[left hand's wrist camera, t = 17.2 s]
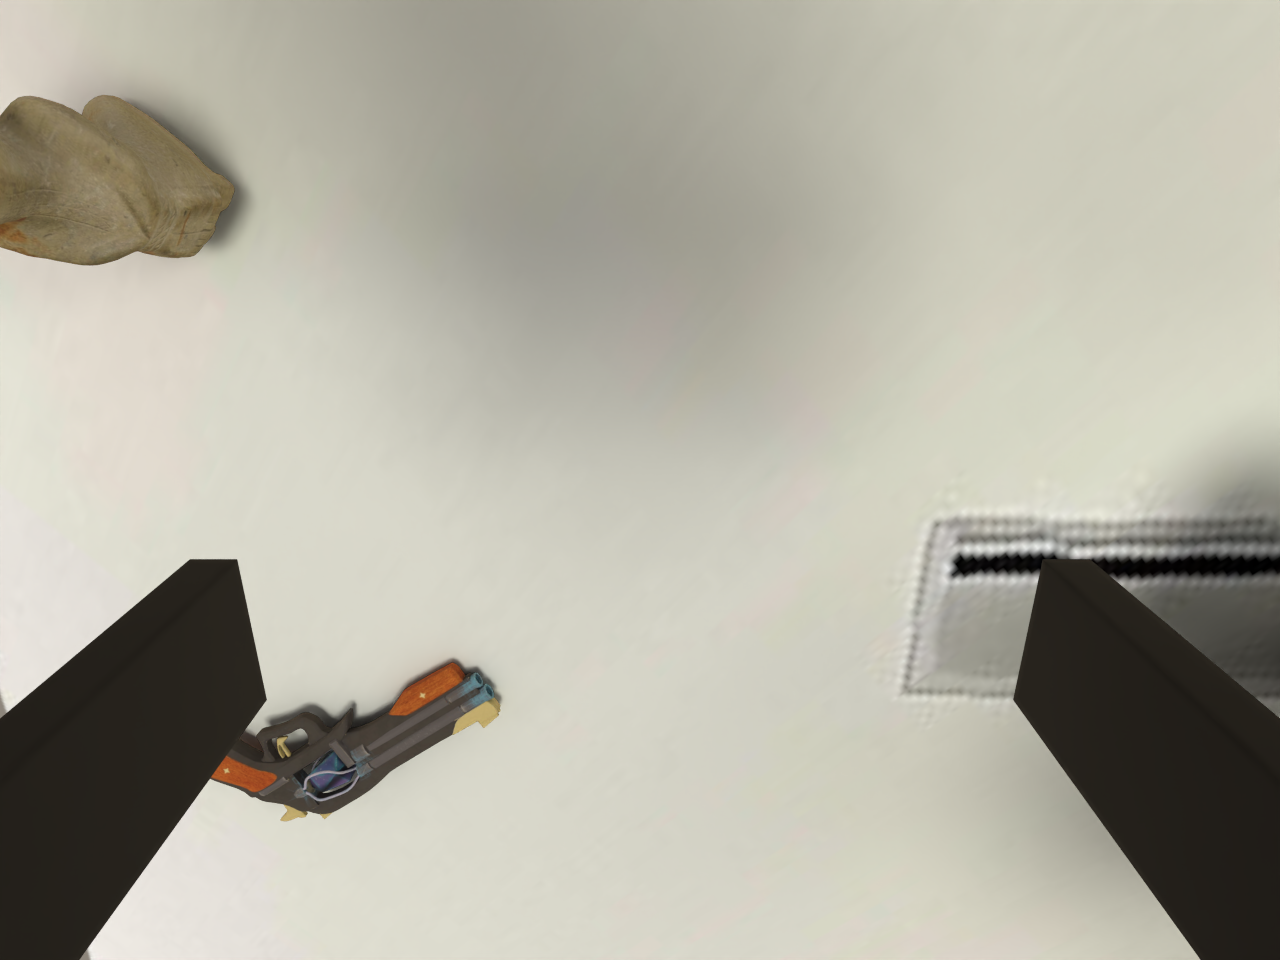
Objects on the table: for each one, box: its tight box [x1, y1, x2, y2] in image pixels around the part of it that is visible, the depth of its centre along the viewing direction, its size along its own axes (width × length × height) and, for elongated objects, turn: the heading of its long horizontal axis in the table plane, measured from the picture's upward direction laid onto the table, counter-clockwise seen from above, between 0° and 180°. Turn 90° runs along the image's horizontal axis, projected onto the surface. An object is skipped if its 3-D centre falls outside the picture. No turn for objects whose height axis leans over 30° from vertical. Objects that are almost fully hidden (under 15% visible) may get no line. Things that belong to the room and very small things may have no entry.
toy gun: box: [210, 663, 501, 821], centre depth 47 cm, size 3×19×10 cm
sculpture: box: [0, 95, 234, 265], centre depth 30 cm, size 6×7×15 cm
